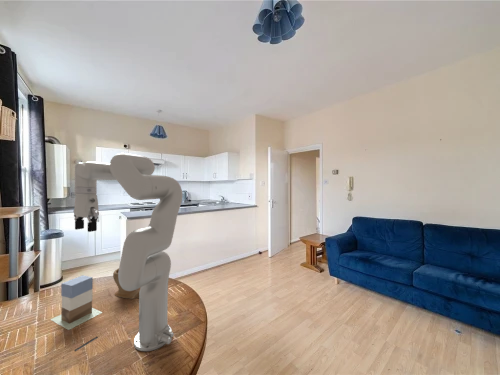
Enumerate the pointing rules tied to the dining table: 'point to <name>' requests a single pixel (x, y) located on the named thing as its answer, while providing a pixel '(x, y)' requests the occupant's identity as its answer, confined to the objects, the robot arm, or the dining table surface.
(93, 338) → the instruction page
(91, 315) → the build board
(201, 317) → the dining table surface
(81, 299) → the brick
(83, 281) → the brick
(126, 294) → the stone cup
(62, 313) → the brick
